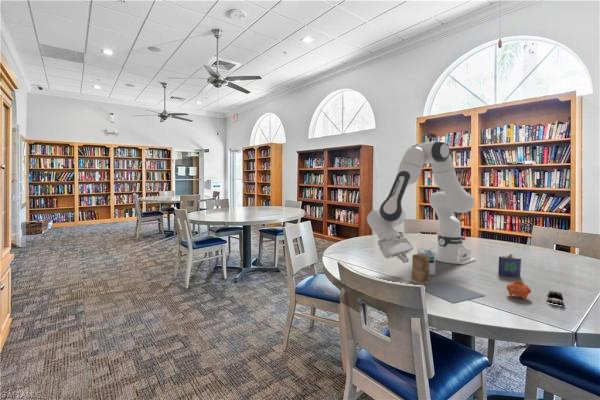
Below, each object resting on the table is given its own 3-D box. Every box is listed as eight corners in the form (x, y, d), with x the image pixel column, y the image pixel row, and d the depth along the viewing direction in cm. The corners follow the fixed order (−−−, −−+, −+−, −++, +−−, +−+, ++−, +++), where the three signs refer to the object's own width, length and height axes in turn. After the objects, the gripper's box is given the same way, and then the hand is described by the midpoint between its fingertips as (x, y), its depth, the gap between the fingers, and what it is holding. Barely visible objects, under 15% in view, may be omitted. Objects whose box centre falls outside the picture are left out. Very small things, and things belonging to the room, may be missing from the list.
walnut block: (419, 279, 141) (420, 253, 140) (428, 282, 136) (429, 256, 136) (411, 280, 139) (412, 254, 138) (420, 284, 134) (421, 257, 134)
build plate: (534, 303, 115) (534, 291, 115) (533, 297, 121) (534, 286, 121) (578, 312, 108) (579, 299, 108) (575, 305, 114) (576, 293, 113)
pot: (536, 298, 118) (535, 282, 117) (521, 305, 116) (520, 289, 115) (516, 290, 125) (515, 275, 124) (502, 297, 123) (500, 281, 122)
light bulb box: (435, 275, 147) (436, 253, 146) (420, 274, 148) (421, 252, 147) (430, 268, 157) (431, 248, 156) (416, 268, 158) (417, 247, 158)
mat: (446, 281, 138) (446, 281, 138) (485, 295, 121) (485, 295, 121) (416, 287, 130) (416, 286, 130) (453, 303, 114) (453, 302, 114)
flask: (519, 275, 146) (520, 253, 146) (521, 277, 144) (523, 255, 143) (497, 273, 149) (498, 252, 148) (499, 275, 146) (500, 253, 145)
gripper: (380, 236, 141) (398, 262, 134) (404, 232, 154) (422, 254, 147) (372, 244, 145) (389, 269, 138) (396, 239, 158) (413, 261, 151)
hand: (406, 262), depth 142 cm, fingers closed
